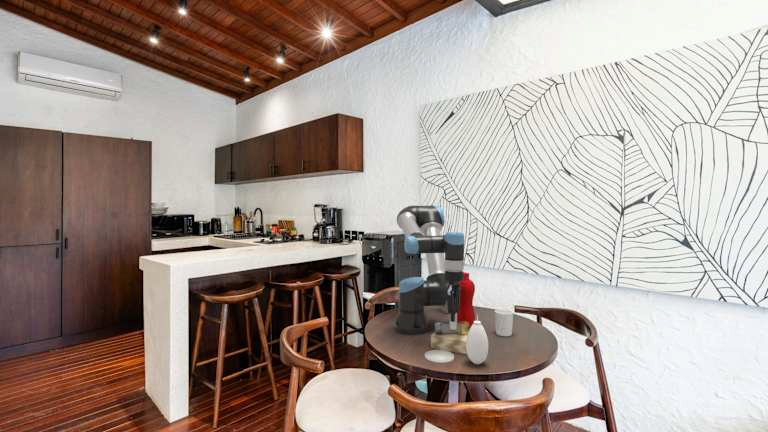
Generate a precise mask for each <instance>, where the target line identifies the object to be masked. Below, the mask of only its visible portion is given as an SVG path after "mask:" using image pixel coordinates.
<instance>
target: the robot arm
mask: <svg viewBox="0 0 768 432" xmlns="http://www.w3.org/2000/svg"><path fill="white" fill-rule="evenodd" d="M445 222H446V221H445V214H444V211H443V209H442V207H441V206H439V205H433V204H432V205H408V206H405V207H404V208H402V209H401V210H400V211H399V212H398V214H397V216H396V223H397V226H398V228H400V229H401V230H402V232H403V235H404V236H405V237H404V242H403V243H404V245H403V246H404V251H405V253H406V254H413V255H417V254H425V256H426V257H425V258H426V262H427V263H426V264H427V270H428V275H427V277H426V279H425V278H424V277H422V276H412V277H407V278H406V277H405V278H404V279H402V280H401V281H399V285H398V314H397V316H396V320H395V324H394V329H395V331H397V332H398V333H402V334H406V335H420V334H423V333H427V331H428V330H429V324H428V320H427V317H426V314H425V307H439V306H440V307H442V306H446V305H447V306H448V313H450V314H449V322H450V329H453V330H457V313H459V311H458V310H459V303H460V292H461V286H460V285H459V281H463V280H464V273H465V272H464V269H465V268H464V266H466V263H465V243H466V241H465V234H464V232H461V231H448V232H447V231H446V232H445V234H442V235H441V231H442V230H443V227H444V226H445ZM456 312H457V313H456Z"/></svg>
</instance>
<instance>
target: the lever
mask: <svg viewBox="0 0 768 432" xmlns="http://www.w3.org/2000/svg"><path fill="white" fill-rule="evenodd" d="M469 330H470V327H469V323H468V322H457V330H453V329H450V321H449V322H448V321H446V322H445V321H444V322H443V321H435V322H434V332H435V333H436V334H463V335H468V332H469Z"/></svg>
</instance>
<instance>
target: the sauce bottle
mask: <svg viewBox="0 0 768 432" xmlns="http://www.w3.org/2000/svg"><path fill="white" fill-rule="evenodd" d="M467 335H468V336H467V340H466V350H467V354H468V355H467V354H466V355H467V357H468V359H469V360H470V362H471V363H472V364H474V365H481V364H482V363H484V362H485V361H486V359H487V357H488V353H489V339H488V335H487V333H486V329H485V328H484V326H483V325H482V321H480V320H479V314H476V320H475V321H474V324H473V325H472V326H471V327H469V332H468V334H467Z"/></svg>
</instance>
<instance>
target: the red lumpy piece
mask: <svg viewBox="0 0 768 432" xmlns="http://www.w3.org/2000/svg"><path fill="white" fill-rule="evenodd" d="M459 285H460V286H461V292H460V303H459V310H458V311H459V313H457V312H456V313H457V322H468V323H469V328H471V326H472V325H473V324H474V321H476V314H475V309H474V305H473V300H474V296H475V292H476V287H475V286H476V285H475V283H474V281H473V280H472V279H470V273H469V272H464V280H463V281H459Z"/></svg>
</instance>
